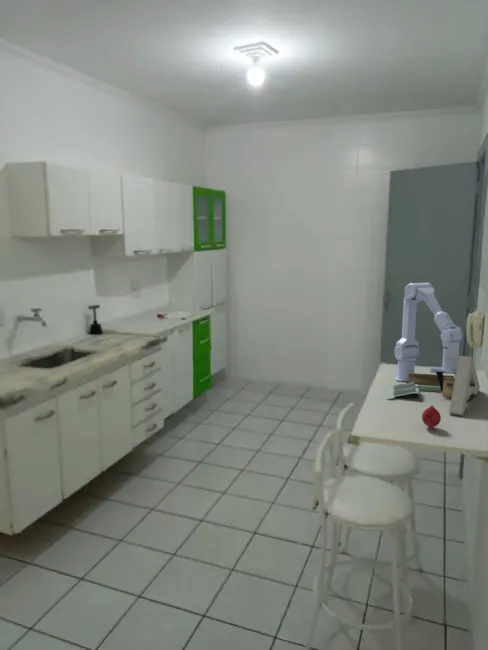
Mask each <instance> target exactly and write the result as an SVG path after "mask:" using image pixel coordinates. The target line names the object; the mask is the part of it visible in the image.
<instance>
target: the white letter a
mask: <svg viewBox="0 0 488 650" xmlns="http://www.w3.org/2000/svg"><path fill="white" fill-rule="evenodd" d="M475 366H476V365H475V363H474V358H473V356H467V355H459V356H458V366H457V371H456V377H455V376H454V378H455V383H454V388H453V394H452V397H451V400H450V405H449V410H448V413H449V415H454V416H459V417H464V414H465V411H466V408H467V407H466V406H467V401H468V400H469V399H470V397H471V396H473V395H474V396H475V397H477V396H476V395H478V394H479V391H480V388H481V386H480V383H479V378H478V375H477V371H476V367H475Z"/></svg>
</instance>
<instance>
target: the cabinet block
mask: <svg viewBox="0 0 488 650" xmlns="http://www.w3.org/2000/svg"><path fill="white" fill-rule="evenodd" d="M454 383H455V377H454V378H446V377H443V391H442V392H441V395H442V397H445V398H446V397H447V398H452V394H453V388H454Z"/></svg>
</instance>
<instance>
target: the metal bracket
mask: <svg viewBox="0 0 488 650" xmlns="http://www.w3.org/2000/svg"><path fill="white" fill-rule="evenodd" d="M412 383H413V384H412ZM410 394H418V398H419V399H420V398H421V396H423V393H421V391H420V386H419V385H418V384H415V383H414V382H411V383H409V384H408V383H400V384H394V385H393V386H391V387H388V388H386V397H385V400H386V401H387V400H388V401H389V400H392V399H393V400H394V399H395V398H396V397H400V396H401V397H402V396H406V395H410Z"/></svg>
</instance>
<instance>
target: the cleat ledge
mask: <svg viewBox="0 0 488 650" xmlns="http://www.w3.org/2000/svg"><path fill="white" fill-rule="evenodd" d="M418 385H419V384H418ZM419 386H420V392H421V391H423V392H424V391H425V392H435V393H442V391H441V390H440V386H433V385H419Z"/></svg>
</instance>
